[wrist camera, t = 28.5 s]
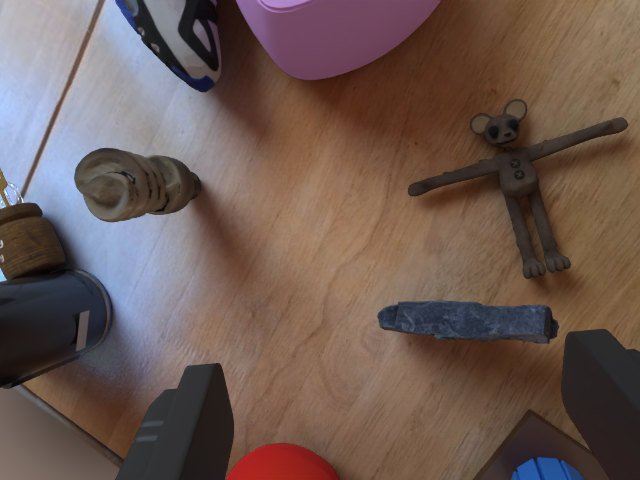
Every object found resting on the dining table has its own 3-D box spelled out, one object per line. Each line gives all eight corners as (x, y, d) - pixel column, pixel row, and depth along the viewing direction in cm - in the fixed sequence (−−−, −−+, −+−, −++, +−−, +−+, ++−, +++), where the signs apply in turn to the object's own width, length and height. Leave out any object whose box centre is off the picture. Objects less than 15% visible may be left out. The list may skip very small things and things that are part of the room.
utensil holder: (70, 266, 56) (27, 169, 57) (65, 257, 51) (18, 149, 51) (13, 287, 54) (-32, 186, 54) (1, 280, 48) (-48, 167, 48)
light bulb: (227, 201, 50) (140, 201, 35) (184, 225, 51) (82, 236, 37) (203, 151, 50) (106, 131, 36) (160, 176, 51) (50, 168, 37)
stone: (395, 357, 47) (384, 398, 37) (376, 296, 47) (360, 321, 37) (548, 320, 44) (579, 354, 34) (527, 255, 44) (552, 270, 34)
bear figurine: (441, 304, 43) (390, 140, 41) (440, 290, 47) (393, 141, 45) (672, 244, 38) (624, 59, 37) (648, 235, 42) (604, 68, 41)
